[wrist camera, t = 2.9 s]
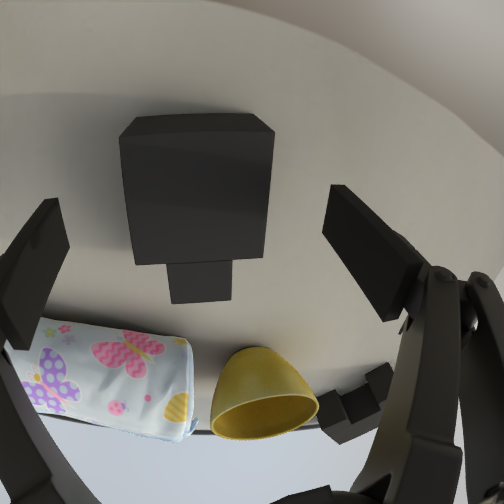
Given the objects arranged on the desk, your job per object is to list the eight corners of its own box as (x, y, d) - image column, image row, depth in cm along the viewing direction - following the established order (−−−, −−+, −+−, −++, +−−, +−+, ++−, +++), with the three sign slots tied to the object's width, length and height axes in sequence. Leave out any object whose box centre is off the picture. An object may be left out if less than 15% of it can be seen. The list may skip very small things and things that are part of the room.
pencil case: (3, 345, 24) (-19, 420, 16) (-21, 283, 19) (-62, 366, 12) (187, 370, 30) (196, 454, 23) (198, 312, 26) (211, 413, 18)
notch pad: (388, 361, 38) (403, 390, 34) (393, 389, 45) (405, 412, 41) (310, 400, 40) (321, 430, 36) (330, 420, 47) (339, 444, 43)
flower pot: (222, 394, 34) (231, 448, 28) (185, 349, 28) (191, 415, 22) (304, 368, 34) (323, 421, 28) (288, 316, 28) (312, 380, 22)
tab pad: (253, 113, 17) (275, 131, 13) (244, 252, 23) (259, 298, 19) (135, 117, 16) (118, 136, 12) (149, 257, 22) (143, 306, 18)
